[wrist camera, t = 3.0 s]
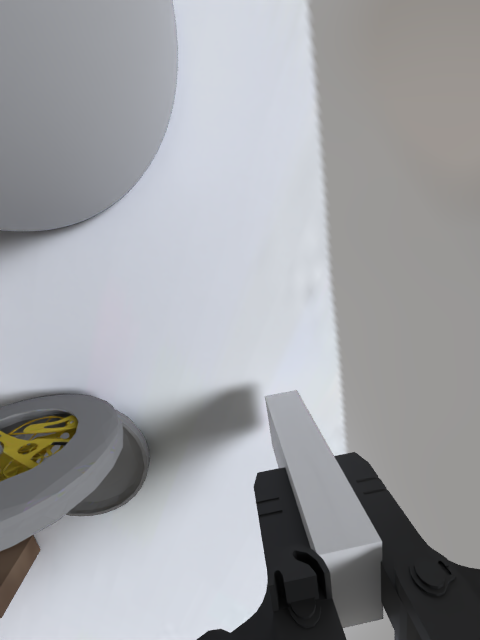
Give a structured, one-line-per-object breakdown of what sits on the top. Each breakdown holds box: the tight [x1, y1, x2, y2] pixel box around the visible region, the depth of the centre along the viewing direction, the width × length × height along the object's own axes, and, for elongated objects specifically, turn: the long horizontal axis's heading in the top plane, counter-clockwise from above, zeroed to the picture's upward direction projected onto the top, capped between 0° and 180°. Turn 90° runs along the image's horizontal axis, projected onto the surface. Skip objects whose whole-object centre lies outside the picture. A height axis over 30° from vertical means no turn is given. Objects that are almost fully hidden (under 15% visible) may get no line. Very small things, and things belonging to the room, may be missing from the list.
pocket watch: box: [0, 394, 150, 551], centre depth 9 cm, size 8×8×10 cm
